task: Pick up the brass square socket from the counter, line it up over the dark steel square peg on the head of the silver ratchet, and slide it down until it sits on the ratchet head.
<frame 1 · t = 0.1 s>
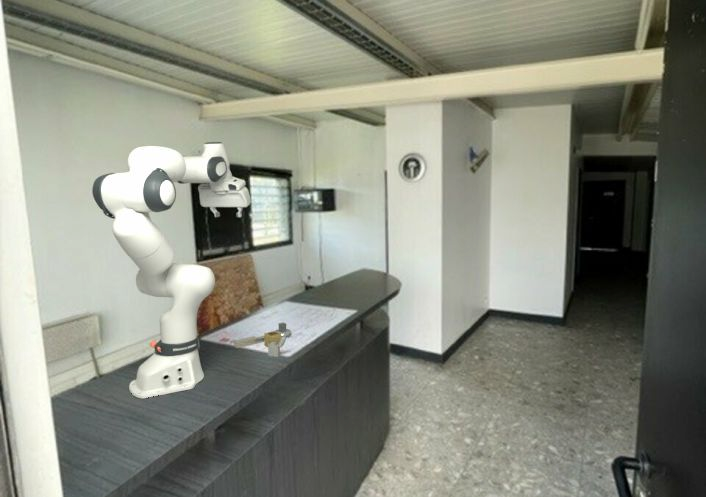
hand: (228, 216, 173), 52 cm above the table, tool tilted 20°, fingers open, 8 cm apart
ratchet: (282, 335, 186), on the table
socket: (273, 345, 175), on the table
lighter: (277, 356, 164), on the table
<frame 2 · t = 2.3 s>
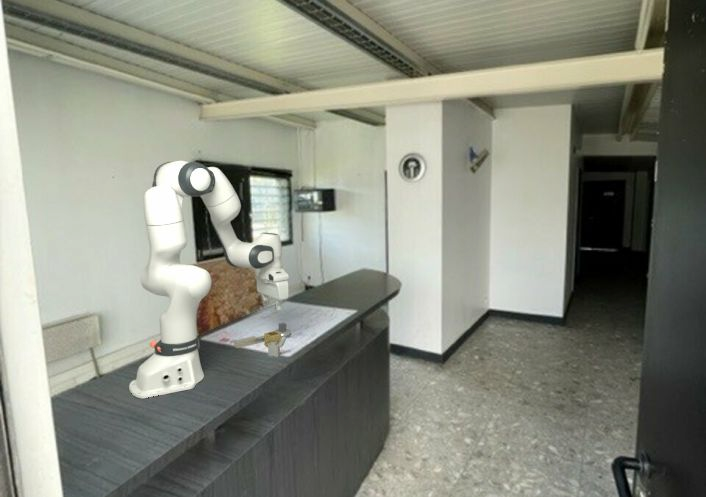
hand: (272, 307, 173), 16 cm above the table, tool pointing down, fingers open, 8 cm apart
nothing on the table moved.
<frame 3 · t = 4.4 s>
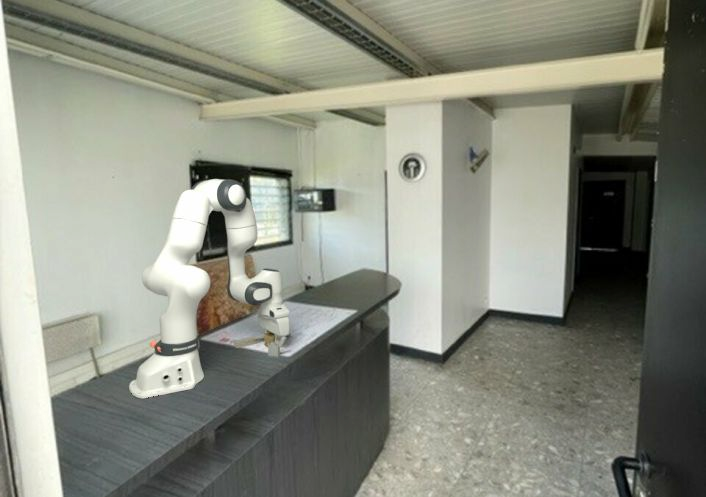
hand: (272, 341, 174), 2 cm above the table, tool pointing down, fingers closed on socket, 5 cm apart
socket: (273, 345, 175), on the table, touching gripper
everything else where it was.
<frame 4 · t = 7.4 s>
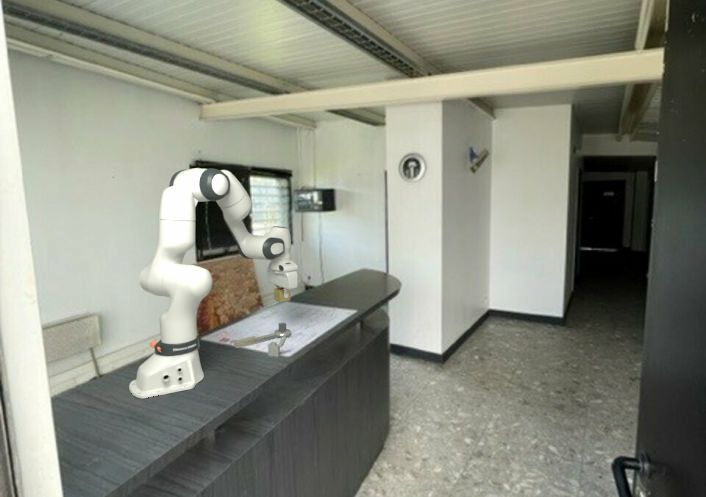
hand: (282, 296, 184), 18 cm above the table, tool pointing down, fingers closed on socket, 5 cm apart
socket: (282, 299, 184), point 16 cm above the table, touching gripper
everything else where it was.
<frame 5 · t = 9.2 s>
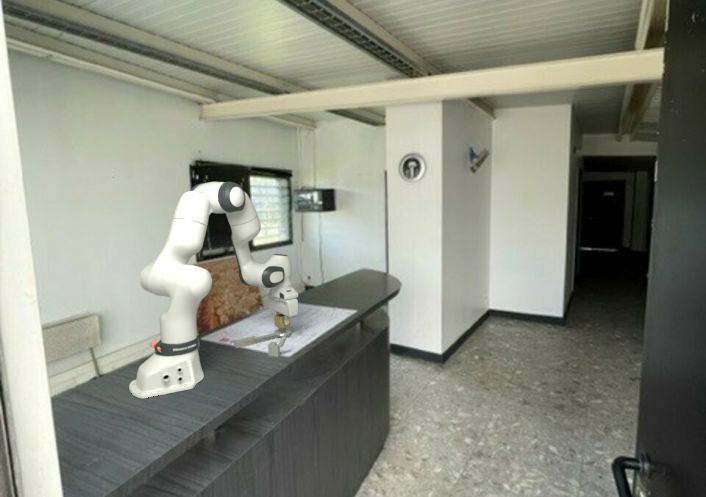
hand: (282, 322, 186), 6 cm above the table, tool pointing down, fingers closed on socket, 5 cm apart
socket: (282, 326, 186), point 4 cm above the table, touching gripper
everything else where it was.
when the fingers open (4 cm above the table, at t = 10.7 s): socket stays where it is, resting on ratchet.
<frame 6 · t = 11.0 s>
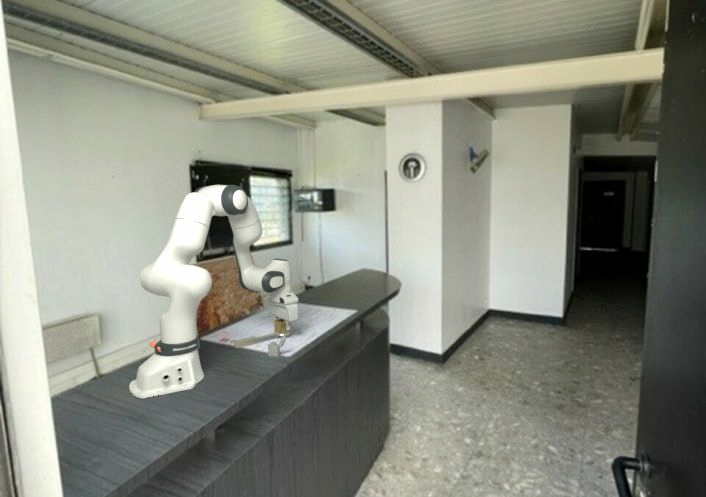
hand: (282, 327, 186), 4 cm above the table, tool pointing down, fingers open, 8 cm apart
socket: (282, 331, 186), point 2 cm above the table, touching ratchet
everything else where it was.
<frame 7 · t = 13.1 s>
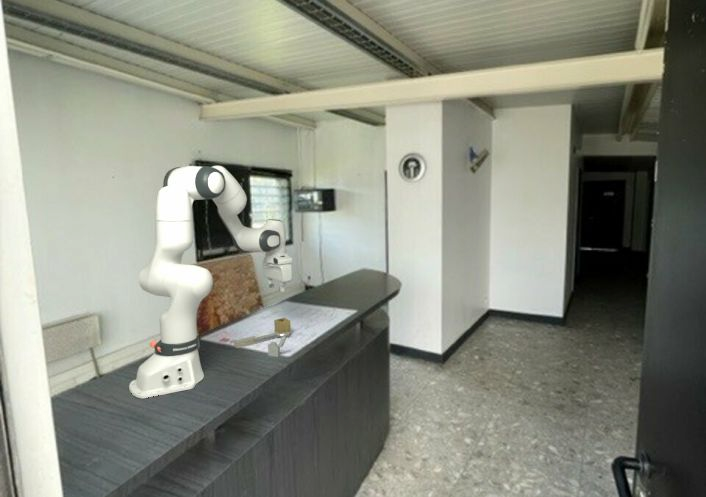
hand: (276, 289, 184), 20 cm above the table, tool pointing down, fingers open, 8 cm apart
nothing on the table moved.
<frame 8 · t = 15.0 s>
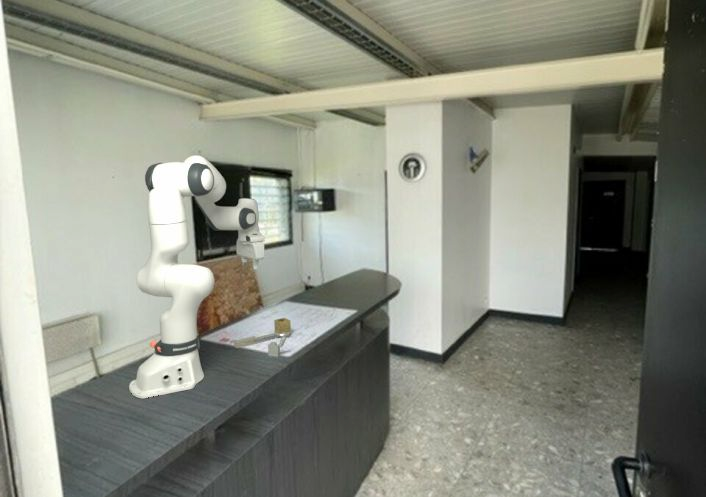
hand: (250, 267, 188), 29 cm above the table, tool pointing down, fingers open, 8 cm apart
nothing on the table moved.
at the end: socket 0.0 cm off-centre on the ratchet, point 2.0 cm above the ratchet's base; socket tilted 0°; the gripper is holding nothing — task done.
